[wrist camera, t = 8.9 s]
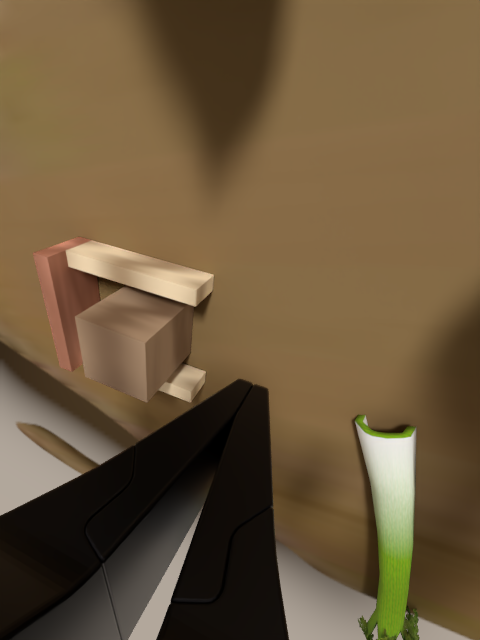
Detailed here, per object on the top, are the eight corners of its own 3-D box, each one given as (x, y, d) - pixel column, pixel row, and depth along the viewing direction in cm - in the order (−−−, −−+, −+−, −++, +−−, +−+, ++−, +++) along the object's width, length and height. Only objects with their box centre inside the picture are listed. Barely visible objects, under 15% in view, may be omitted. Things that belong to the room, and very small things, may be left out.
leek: (440, 402, 22) (429, 644, 33) (339, 388, 26) (358, 610, 37) (439, 468, 18) (427, 726, 28) (315, 440, 21) (346, 677, 32)
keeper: (194, 298, 23) (145, 342, 18) (190, 352, 26) (147, 402, 21) (135, 279, 24) (74, 316, 20) (138, 332, 27) (85, 376, 22)
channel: (214, 274, 22) (184, 300, 18) (204, 382, 27) (180, 416, 24) (79, 236, 24) (32, 252, 21) (95, 341, 30) (60, 366, 27)
